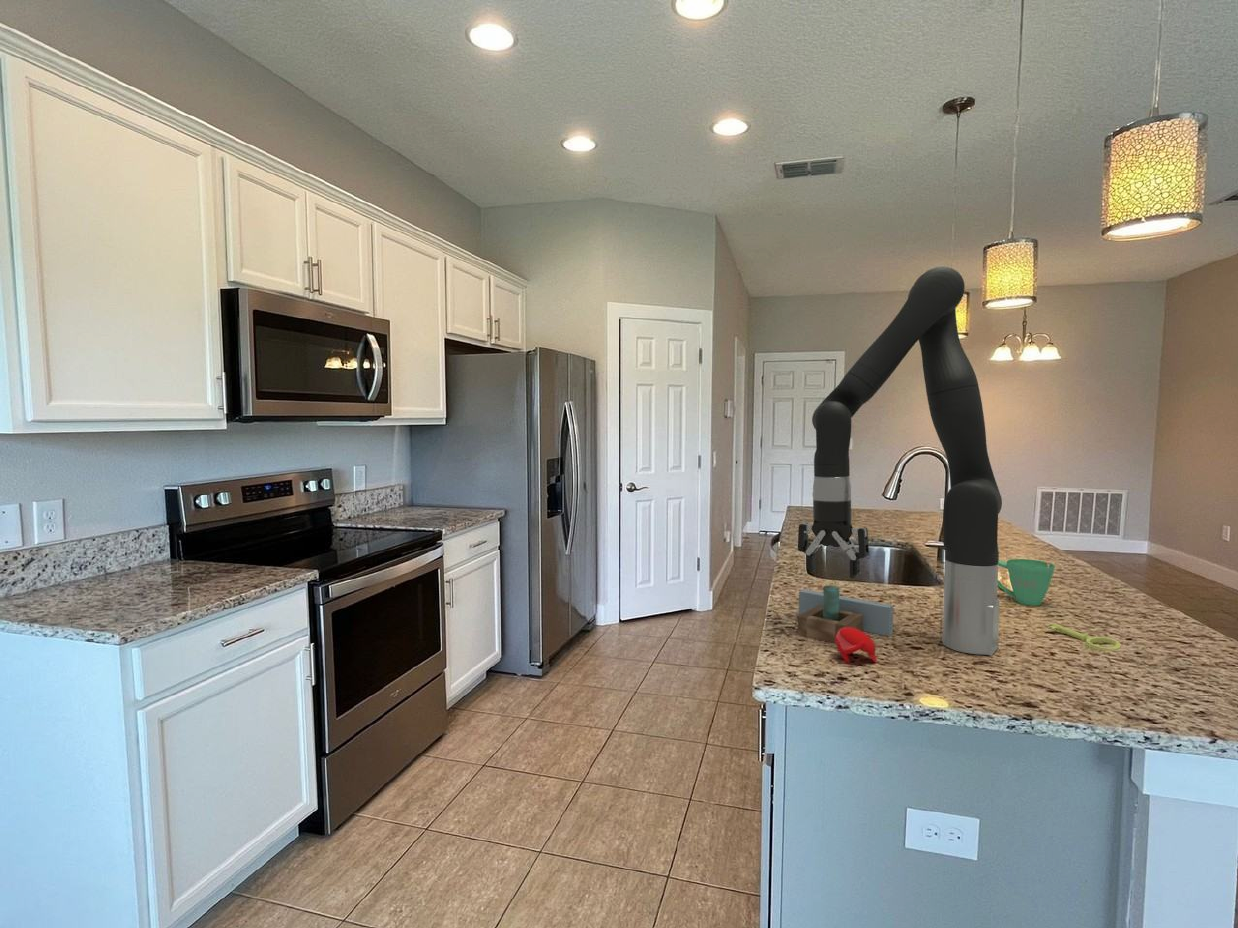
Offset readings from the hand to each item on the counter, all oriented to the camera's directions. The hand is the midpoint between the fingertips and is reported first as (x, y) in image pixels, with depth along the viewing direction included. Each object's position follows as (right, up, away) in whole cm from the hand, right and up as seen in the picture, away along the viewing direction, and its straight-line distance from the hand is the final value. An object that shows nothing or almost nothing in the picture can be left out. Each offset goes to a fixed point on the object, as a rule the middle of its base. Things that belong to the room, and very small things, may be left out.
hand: (832, 574), depth 130 cm
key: (+50, -14, -3) cm, 52 cm away
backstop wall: (+5, -12, +7) cm, 15 cm away
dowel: (0, -13, +1) cm, 13 cm away
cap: (0, -14, -13) cm, 19 cm away
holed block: (0, -13, +1) cm, 13 cm away
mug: (+55, -11, +25) cm, 61 cm away
